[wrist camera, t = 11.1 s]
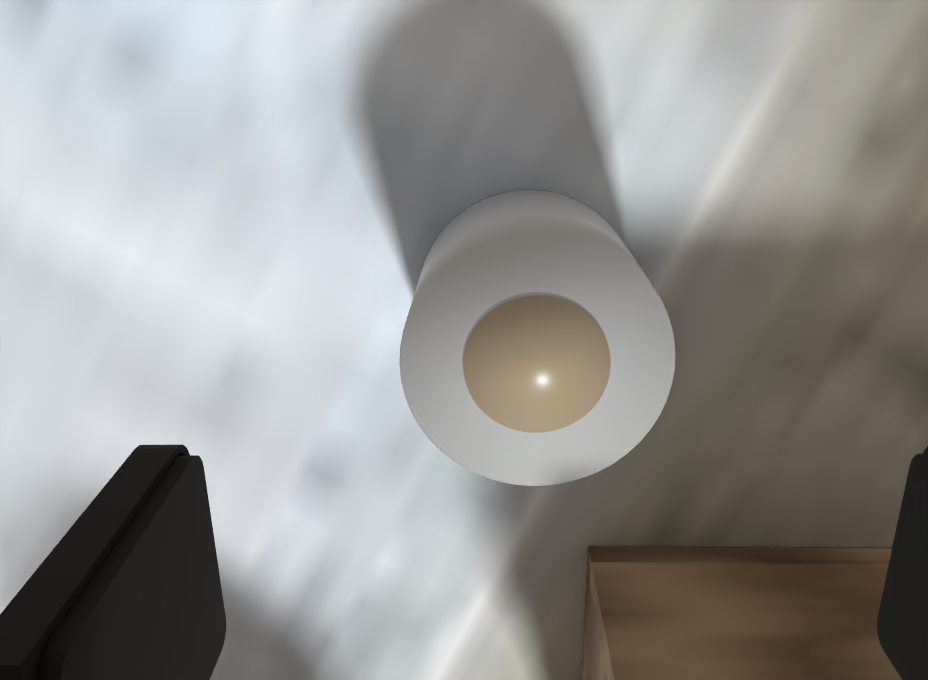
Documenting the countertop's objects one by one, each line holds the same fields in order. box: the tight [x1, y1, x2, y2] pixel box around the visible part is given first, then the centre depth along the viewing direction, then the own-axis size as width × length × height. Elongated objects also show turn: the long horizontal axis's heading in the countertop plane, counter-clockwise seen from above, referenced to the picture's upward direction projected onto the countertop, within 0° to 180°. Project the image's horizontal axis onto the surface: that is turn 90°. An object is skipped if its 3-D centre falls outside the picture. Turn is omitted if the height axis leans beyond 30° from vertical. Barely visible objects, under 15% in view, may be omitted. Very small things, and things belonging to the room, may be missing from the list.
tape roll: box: [400, 190, 675, 486], centre depth 20 cm, size 6×6×5 cm
